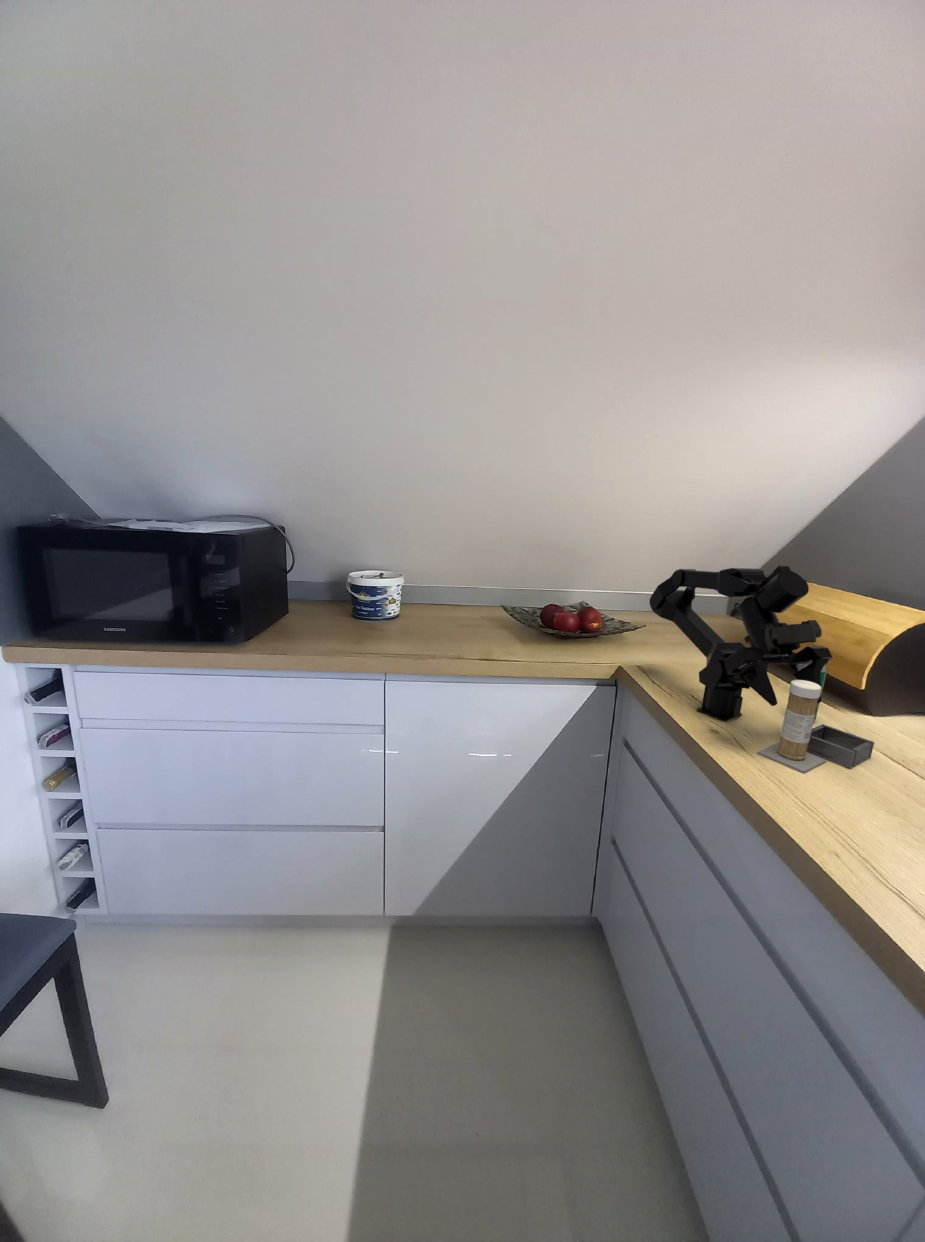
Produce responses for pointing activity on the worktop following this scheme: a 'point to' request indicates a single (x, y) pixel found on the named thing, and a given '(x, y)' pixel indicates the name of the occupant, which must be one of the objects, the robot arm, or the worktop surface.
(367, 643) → the worktop surface
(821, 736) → the grey open box
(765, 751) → the rubber pad
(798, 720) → the sprinkles bottle
